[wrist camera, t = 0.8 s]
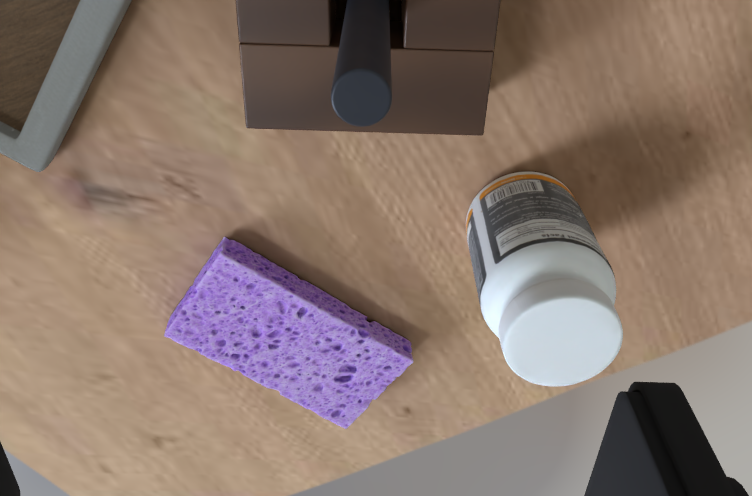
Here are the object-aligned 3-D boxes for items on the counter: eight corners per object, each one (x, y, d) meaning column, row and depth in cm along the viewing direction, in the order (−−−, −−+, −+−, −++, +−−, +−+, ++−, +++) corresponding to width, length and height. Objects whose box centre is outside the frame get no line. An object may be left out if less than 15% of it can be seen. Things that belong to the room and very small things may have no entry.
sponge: (346, 407, 42) (345, 430, 41) (166, 315, 38) (157, 337, 37) (415, 340, 39) (416, 362, 37) (226, 232, 35) (219, 252, 33)
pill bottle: (544, 272, 36) (592, 411, 28) (446, 244, 35) (466, 378, 27) (596, 185, 33) (667, 310, 25) (491, 151, 32) (528, 270, 24)
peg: (350, -35, 28) (330, 67, 17) (389, -34, 28) (393, 69, 17) (350, 4, 28) (330, 126, 18) (387, 6, 29) (390, 128, 18)
